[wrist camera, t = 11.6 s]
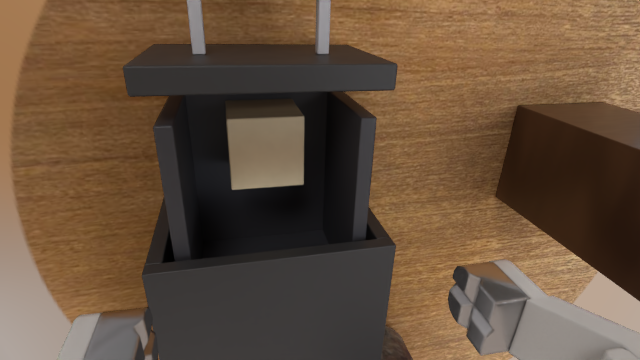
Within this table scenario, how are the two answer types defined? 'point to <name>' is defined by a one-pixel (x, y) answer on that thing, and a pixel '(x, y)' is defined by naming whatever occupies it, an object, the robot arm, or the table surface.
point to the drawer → (212, 143)
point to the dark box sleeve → (271, 300)
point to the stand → (580, 182)
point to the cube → (265, 143)
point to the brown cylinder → (394, 346)
